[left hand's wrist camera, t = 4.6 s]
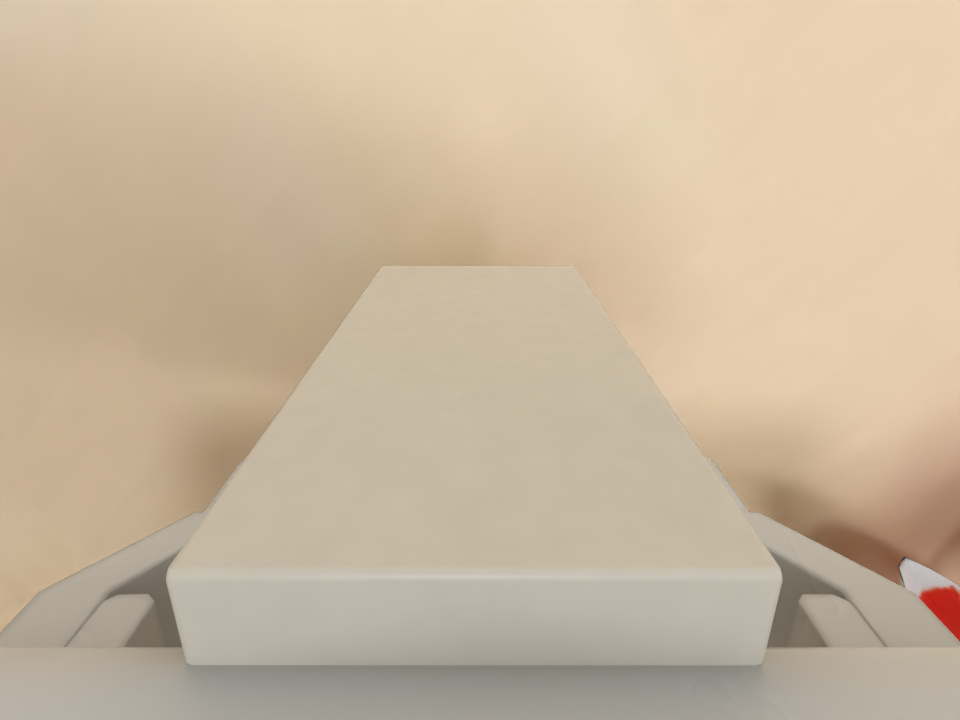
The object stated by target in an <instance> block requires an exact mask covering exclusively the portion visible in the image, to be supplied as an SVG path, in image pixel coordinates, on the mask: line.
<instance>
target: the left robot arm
mask: <svg viewBox="0 0 960 720" xmlns="http://www.w3.org/2000/svg"><path fill="white" fill-rule="evenodd" d="M705 458H706V460H707V461H708V462H709V464H710V465H711V467H712V468H713V470H714V471H715V473H716V474H717V476H718V477H719V479H720V480H721V482H722V483H723V485H724V486H725V487H726V489H727V490H728V492H729V493H730V495H731V496H732V498H733V499H734V501H735V502H736V504H737V505H738V507H739V508H740V510H741V511H742V512H743V514H744V515H745V517H746V518H747V520H748V521H749V523H750V524H751V526H752V527H753V529H754V530H755V532H756V533H757V535H758V536H759V537H760V539H761V540H762V542H763V543H764V545H765V546H766V548H767V549H768V551H769V552H770V554H771V555H772V557H773V558H774V560H775V561H776V563H777V564H778V565H779V567H780V569H781V573H782V580H783V581H782V585H781V589H780V593H779V597H778V602H777V606H776V610H775V614H774V618H773V623H772V627H771V631H770V635H769V639H768V644H767V648H766V652H765V656H764V660H763V663H762V664H759V665H757V666H645V665H190V664H188V663H186V660H185V656H184V652H183V648H182V644H181V640H180V636H179V632H178V628H177V624H176V620H175V616H174V611H173V607H172V603H171V599H170V595H169V591H168V587H167V583H166V574H167V570H168V567H169V566H170V565H171V563H172V562H173V560H174V559H175V557H176V556H177V555H178V553H179V552H180V550H181V549H182V548H183V546H184V545H185V543H186V542H187V541H188V539H189V538H190V536H191V535H192V533H193V532H194V531H195V529H196V528H197V526H198V525H199V524H200V522H201V521H202V519H203V518H204V517H205V515H206V514H207V512H208V511H209V509H210V508H211V507H212V505H213V504H214V502H215V501H216V500H217V498H218V497H219V495H220V494H221V492H222V491H223V490H224V488H225V487H226V485H227V484H228V483H229V481H230V480H231V478H232V477H233V476H234V474H235V473H236V471H237V470H238V468H239V467H240V466H241V464H242V463H243V461H244V460H245V459H243V460H242V461H241V462H240V463H239V465H238V466H237V467H236V469H235V470H234V471H233V473H232V474H231V476H230V477H229V478H228V480H227V481H226V483H225V484H224V485H223V487H222V488H221V489H220V491H219V492H218V494H217V495H216V496H215V498H214V499H213V500H212V502H211V503H210V505H209V506H208V507H207V509H206V510H205V511H204V512H194V513H192V514H190V515H188V516H186V517H184V518H183V519H181V520H179V521H177V522H175V523H173V524H171V525H169V526H167V527H165V528H163V529H161V530H159V531H157V532H155V533H153V534H151V535H149V536H147V537H145V538H143V539H142V540H140V541H138V542H136V543H134V544H132V545H130V546H128V547H126V548H124V549H122V550H120V551H118V552H116V553H114V554H112V555H110V556H108V557H106V558H104V559H102V560H101V561H99V562H97V563H95V564H93V565H91V566H89V567H87V568H85V569H83V570H81V571H79V572H77V573H75V574H73V575H71V576H69V577H67V578H65V579H63V580H61V581H60V582H58V583H56V584H54V585H52V586H50V587H48V588H46V589H44V590H42V591H40V592H39V593H38V594H37V595H36V596H35V597H34V598H33V599H32V600H31V601H30V602H29V603H28V604H27V605H26V606H25V607H24V608H23V609H22V611H21V612H20V613H19V614H18V615H17V616H16V617H15V618H14V619H13V620H12V621H11V622H10V623H9V624H8V625H7V626H6V627H5V628H4V629H3V630H2V631H1V633H0V720H960V641H959V640H958V639H957V638H956V637H955V636H954V635H953V634H952V633H951V632H950V631H949V629H948V628H947V627H946V626H945V625H944V624H943V623H942V622H941V621H940V620H939V619H938V618H937V617H936V616H935V614H934V613H933V612H932V611H931V610H930V609H929V608H928V607H927V606H926V605H925V604H924V603H923V602H922V601H921V599H920V598H919V597H918V596H917V595H916V594H915V593H914V592H912V591H910V590H908V589H906V588H904V587H902V586H900V585H898V584H896V583H895V582H893V581H891V580H889V579H887V578H885V577H883V576H881V575H879V574H877V573H875V572H873V571H871V570H869V569H868V568H866V567H864V566H862V565H860V564H858V563H856V562H854V561H852V560H850V559H848V558H846V557H844V556H842V555H841V554H839V553H837V552H835V551H833V550H831V549H829V548H827V547H825V546H823V545H821V544H819V543H817V542H815V541H814V540H812V539H810V538H808V537H806V536H804V535H802V534H800V533H798V532H796V531H794V530H792V529H790V528H789V527H787V526H785V525H783V524H781V523H779V522H777V521H775V520H773V519H771V518H769V517H767V516H765V515H763V514H762V513H760V512H749V510H748V509H747V507H746V506H745V505H744V503H743V502H742V501H741V499H740V498H739V496H738V495H737V494H736V492H735V491H734V489H733V488H732V487H731V485H730V484H729V482H728V481H727V480H726V478H725V477H724V475H723V474H722V473H721V471H720V470H719V468H718V467H717V466H716V464H715V463H714V461H713V460H712V459H710V458H708V457H705Z"/></svg>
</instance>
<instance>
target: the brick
mask: <svg viewBox="0 0 960 720" xmlns="http://www.w3.org/2000/svg"><path fill="white" fill-rule="evenodd" d="M782 581H783V580H782V573H781V569H780V567H779V565H778V564H777V563H776V561H775V560H774V558H773V557H772V555H771V554H770V552H769V551H768V549H767V548H766V546H765V545H764V543H763V542H762V540H761V539H760V537H759V536H758V535H757V533H756V532H755V530H754V529H753V527H752V526H751V524H750V523H749V521H748V520H747V518H746V517H745V515H744V514H743V512H742V511H741V510H740V508H739V507H738V505H737V504H736V502H735V501H734V499H733V498H732V496H731V495H730V493H729V492H728V490H727V489H726V487H725V486H724V485H723V483H722V482H721V480H720V479H719V477H718V476H717V474H716V473H715V471H714V470H713V468H712V467H711V465H710V464H709V462H708V461H707V460H706V458H705V457H704V455H703V454H702V452H701V451H700V449H699V448H698V446H697V445H696V443H695V442H694V440H693V439H692V437H691V436H690V435H689V433H688V432H687V430H686V429H685V427H684V426H683V424H682V423H681V421H680V420H679V418H678V417H677V415H676V414H675V412H674V411H673V409H672V408H671V407H670V405H669V404H668V402H667V401H666V399H665V398H664V396H663V395H662V393H661V392H660V390H659V389H658V387H657V386H656V384H655V383H654V382H653V380H652V379H651V377H650V376H649V374H648V373H647V371H646V370H645V368H644V367H643V365H642V364H641V362H640V361H639V359H638V358H637V357H636V355H635V354H634V352H633V351H632V349H631V348H630V346H629V345H628V343H627V342H626V340H625V339H624V337H623V336H622V334H621V333H620V332H619V330H618V329H617V327H616V326H615V324H614V323H613V321H612V320H611V318H610V317H609V315H608V314H607V312H606V311H605V309H604V308H603V307H602V305H601V304H600V302H599V301H598V299H597V298H596V296H595V295H594V293H593V292H592V290H591V289H590V287H589V286H588V284H587V283H586V281H585V280H584V279H583V277H582V276H581V274H580V273H579V271H578V270H577V268H576V267H575V266H382V267H381V268H380V269H379V271H378V272H377V273H376V275H375V276H374V278H373V279H372V281H371V282H370V283H369V285H368V286H367V288H366V289H365V290H364V292H363V293H362V295H361V296H360V298H359V299H358V300H357V302H356V303H355V305H354V306H353V307H352V309H351V310H350V312H349V313H348V314H347V316H346V317H345V319H344V320H343V322H342V323H341V324H340V326H339V327H338V329H337V330H336V331H335V333H334V334H333V336H332V337H331V338H330V340H329V341H328V343H327V344H326V346H325V347H324V348H323V350H322V351H321V353H320V354H319V355H318V357H317V358H316V360H315V361H314V362H313V364H312V365H311V367H310V368H309V370H308V371H307V372H306V374H305V375H304V377H303V378H302V379H301V381H300V382H299V384H298V385H297V387H296V388H295V389H294V391H293V392H292V394H291V395H290V396H289V398H288V399H287V401H286V402H285V403H284V405H283V406H282V408H281V409H280V411H279V412H278V413H277V415H276V416H275V418H274V419H273V420H272V422H271V423H270V425H269V426H268V427H267V429H266V430H265V432H264V433H263V435H262V436H261V437H260V439H259V440H258V442H257V443H256V444H255V446H254V447H253V449H252V450H251V452H250V453H249V454H248V456H247V457H246V459H245V460H244V461H243V463H242V464H241V466H240V467H239V468H238V470H237V471H236V473H235V474H234V476H233V477H232V478H231V480H230V481H229V483H228V484H227V485H226V487H225V488H224V490H223V491H222V492H221V494H220V495H219V497H218V498H217V500H216V501H215V502H214V504H213V505H212V507H211V508H210V509H209V511H208V512H207V514H206V515H205V517H204V518H203V519H202V521H201V522H200V524H199V525H198V526H197V528H196V529H195V531H194V532H193V533H192V535H191V536H190V538H189V539H188V541H187V542H186V543H185V545H184V546H183V548H182V549H181V550H180V552H179V553H178V555H177V556H176V557H175V559H174V560H173V562H172V563H171V565H170V566H169V567H168V570H167V574H166V583H167V587H168V591H169V595H170V599H171V603H172V607H173V611H174V616H175V620H176V624H177V628H178V632H179V636H180V640H181V644H182V648H183V652H184V656H185V660H186V663H188V664H190V665H645V666H757V665H759V664H762V663H763V660H764V656H765V652H766V648H767V644H768V639H769V635H770V631H771V627H772V623H773V618H774V614H775V610H776V606H777V602H778V597H779V593H780V589H781V585H782Z"/></svg>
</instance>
